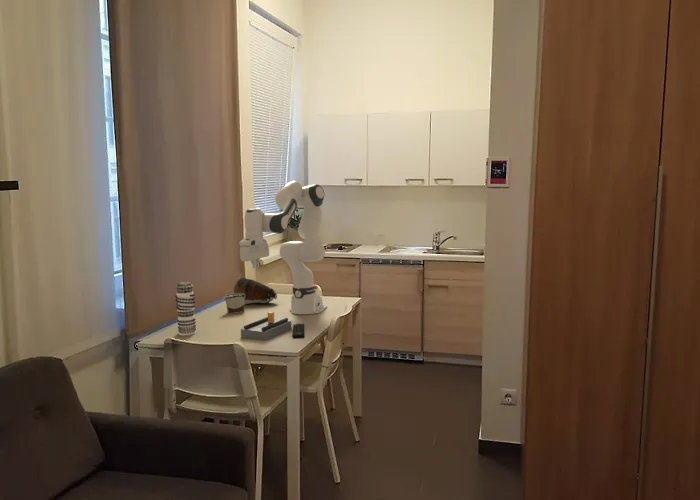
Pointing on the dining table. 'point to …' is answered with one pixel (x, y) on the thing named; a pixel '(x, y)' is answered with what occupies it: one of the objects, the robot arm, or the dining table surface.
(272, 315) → the lever
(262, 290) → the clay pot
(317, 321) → the dining table surface
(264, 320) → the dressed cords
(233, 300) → the food container
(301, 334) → the remote control
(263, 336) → the tray
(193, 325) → the decorative candle
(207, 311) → the dining table surface
